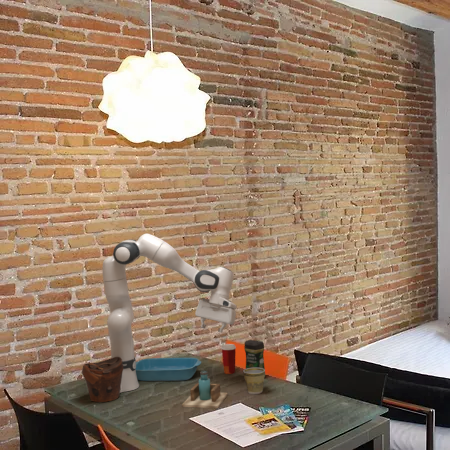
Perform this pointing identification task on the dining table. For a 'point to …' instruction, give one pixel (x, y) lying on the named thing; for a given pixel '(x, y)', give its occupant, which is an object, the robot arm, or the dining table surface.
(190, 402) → the bottle stand
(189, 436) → the dining table surface
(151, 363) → the casserole dish
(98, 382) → the case
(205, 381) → the teal bottle
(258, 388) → the ceramic cup
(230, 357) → the paper cup
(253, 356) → the coffee jar
